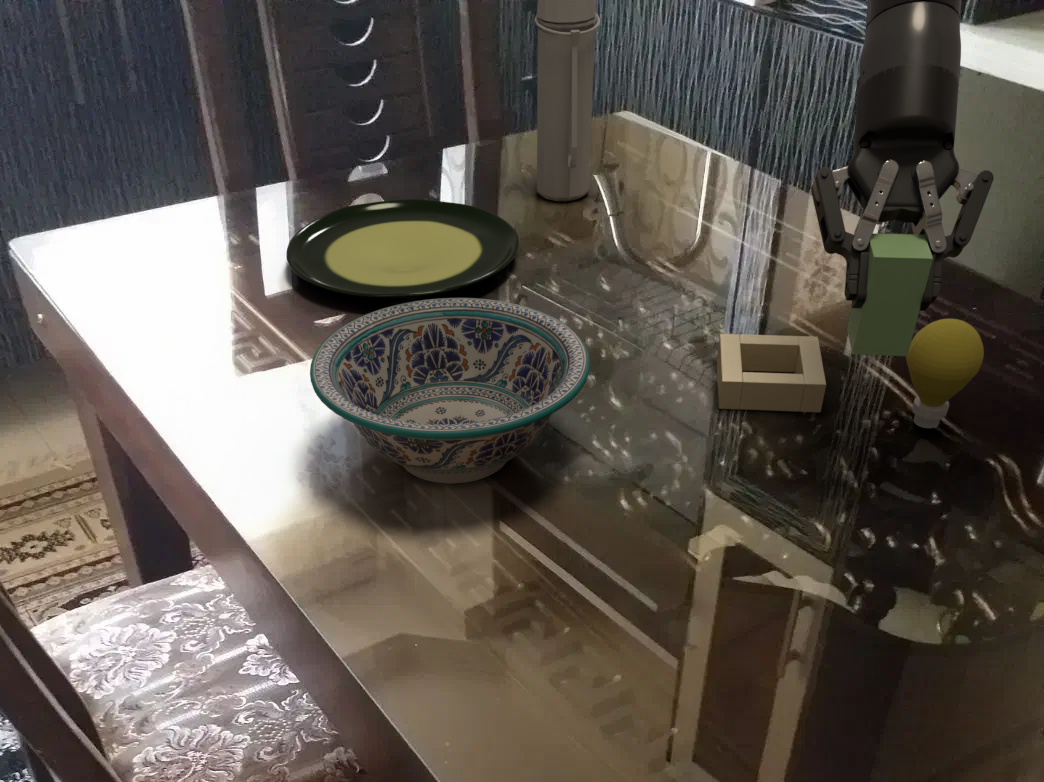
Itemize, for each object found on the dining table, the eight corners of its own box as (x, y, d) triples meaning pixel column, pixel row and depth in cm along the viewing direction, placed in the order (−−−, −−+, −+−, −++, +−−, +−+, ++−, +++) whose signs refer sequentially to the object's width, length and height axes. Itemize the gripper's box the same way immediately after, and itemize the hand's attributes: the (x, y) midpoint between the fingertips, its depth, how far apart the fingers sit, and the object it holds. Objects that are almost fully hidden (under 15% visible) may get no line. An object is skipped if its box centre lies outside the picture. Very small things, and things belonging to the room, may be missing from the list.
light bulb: (888, 435, 109) (913, 334, 102) (892, 400, 114) (917, 302, 107) (961, 444, 108) (993, 343, 101) (963, 409, 112) (993, 310, 105)
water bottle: (528, 186, 155) (528, -33, 137) (584, 180, 156) (592, -38, 138) (543, 212, 149) (545, -14, 131) (601, 206, 150) (612, -19, 132)
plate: (243, 263, 140) (239, 242, 139) (419, 199, 153) (417, 180, 151) (384, 339, 126) (382, 317, 124) (566, 262, 138) (567, 241, 136)
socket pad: (812, 363, 119) (818, 336, 117) (820, 412, 112) (826, 384, 110) (716, 360, 120) (719, 333, 118) (718, 409, 114) (722, 381, 111)
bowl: (272, 448, 111) (255, 355, 104) (471, 363, 121) (468, 273, 114) (432, 566, 97) (425, 467, 90) (641, 457, 108) (649, 362, 101)
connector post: (900, 331, 96) (924, 234, 90) (907, 356, 93) (933, 258, 87) (846, 329, 97) (867, 233, 91) (852, 354, 94) (874, 256, 88)
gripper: (824, 58, 87) (808, 285, 88) (1019, 60, 86) (1001, 291, 86) (806, 111, 95) (791, 320, 95) (985, 113, 93) (969, 325, 94)
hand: (891, 305), depth 91 cm, fingers closed on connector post, 4 cm apart
